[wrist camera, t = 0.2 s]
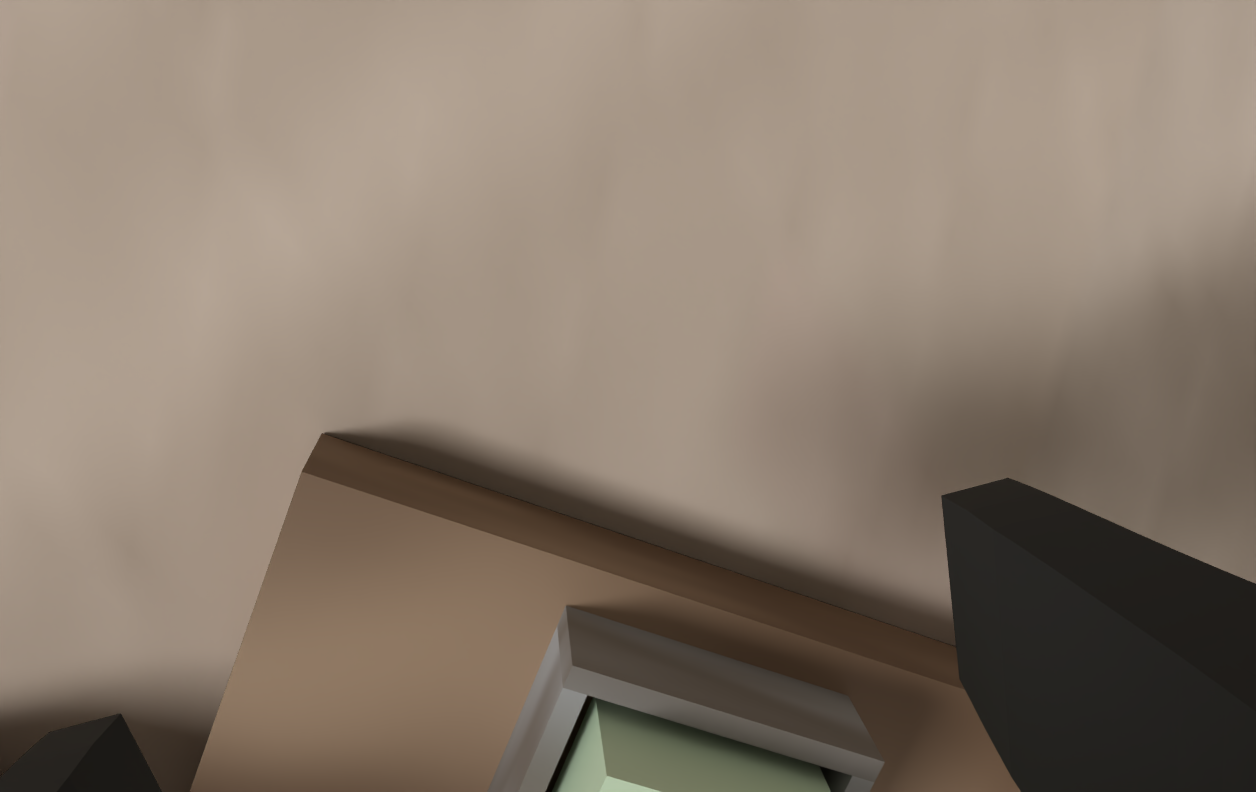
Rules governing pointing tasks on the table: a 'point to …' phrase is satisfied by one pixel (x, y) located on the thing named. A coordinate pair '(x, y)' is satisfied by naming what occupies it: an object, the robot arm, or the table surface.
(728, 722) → the console
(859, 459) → the table surface
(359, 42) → the table surface
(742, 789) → the green button
